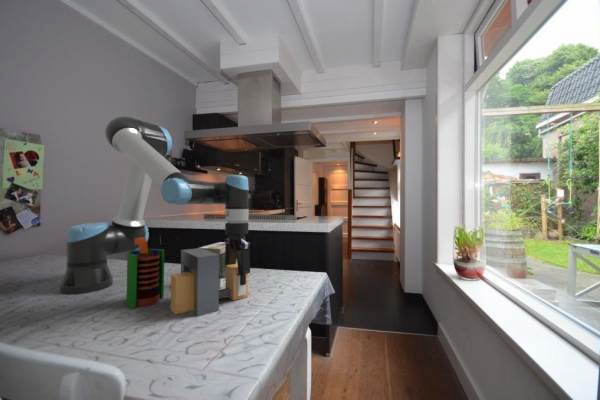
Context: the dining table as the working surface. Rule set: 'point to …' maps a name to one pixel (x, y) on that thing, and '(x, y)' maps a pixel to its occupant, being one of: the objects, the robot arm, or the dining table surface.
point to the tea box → (220, 250)
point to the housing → (203, 278)
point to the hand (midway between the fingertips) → (236, 291)
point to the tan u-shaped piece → (185, 289)
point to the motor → (144, 275)
